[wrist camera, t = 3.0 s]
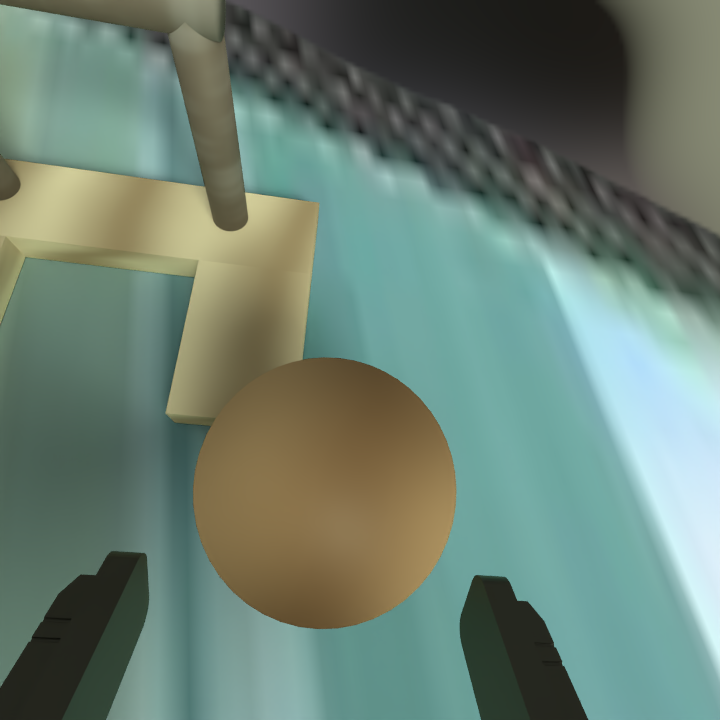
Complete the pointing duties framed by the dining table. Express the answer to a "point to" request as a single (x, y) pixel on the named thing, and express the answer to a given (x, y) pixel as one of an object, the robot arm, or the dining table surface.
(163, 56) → the dining table surface
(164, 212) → the u-shaped handle base
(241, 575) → the wooden knob
